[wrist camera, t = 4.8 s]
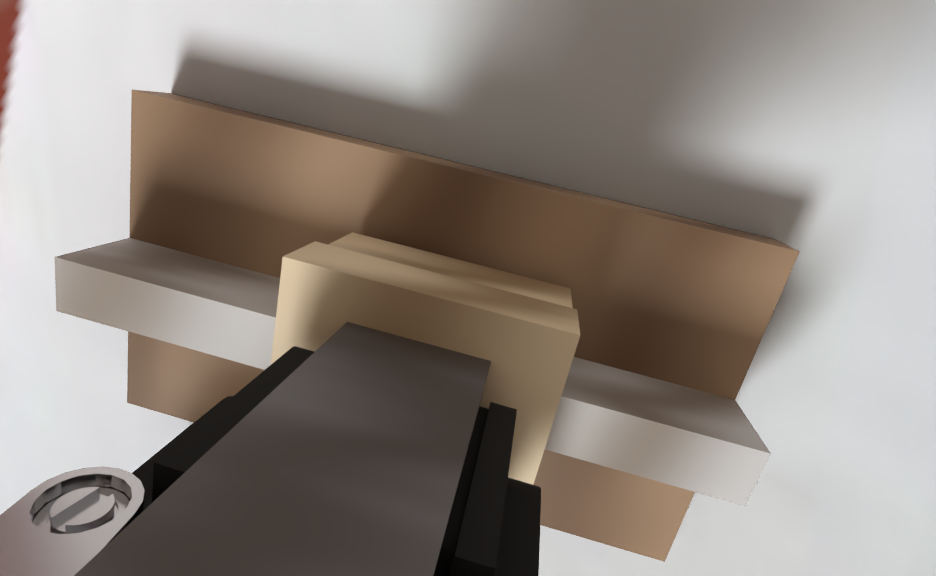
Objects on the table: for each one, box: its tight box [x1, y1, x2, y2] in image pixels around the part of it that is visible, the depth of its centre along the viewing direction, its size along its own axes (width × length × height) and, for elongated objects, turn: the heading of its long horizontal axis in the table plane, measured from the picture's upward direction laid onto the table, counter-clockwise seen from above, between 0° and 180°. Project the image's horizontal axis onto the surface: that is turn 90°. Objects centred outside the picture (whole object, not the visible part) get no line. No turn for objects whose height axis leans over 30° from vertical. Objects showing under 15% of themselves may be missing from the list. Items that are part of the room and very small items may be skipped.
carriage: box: [74, 232, 580, 576], centre depth 10 cm, size 6×6×10 cm
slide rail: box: [55, 90, 799, 562], centre depth 15 cm, size 18×10×4 cm, turn 78°
